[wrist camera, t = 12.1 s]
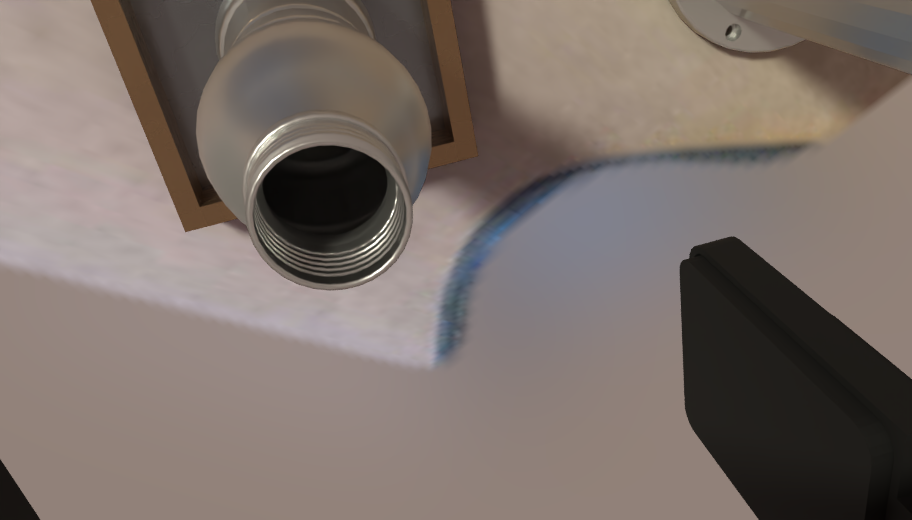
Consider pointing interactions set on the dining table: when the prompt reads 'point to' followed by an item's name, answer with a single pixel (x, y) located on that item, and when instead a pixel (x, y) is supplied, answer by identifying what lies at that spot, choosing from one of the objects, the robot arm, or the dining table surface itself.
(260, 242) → the plastic bottle
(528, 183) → the dining table surface
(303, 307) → the dining table surface
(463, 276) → the dining table surface
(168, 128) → the collar base
